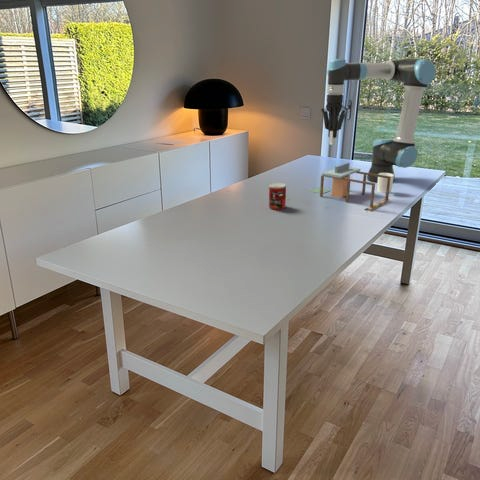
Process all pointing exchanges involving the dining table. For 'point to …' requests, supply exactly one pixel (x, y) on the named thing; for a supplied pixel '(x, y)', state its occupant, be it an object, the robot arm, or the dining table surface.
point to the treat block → (339, 187)
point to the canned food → (277, 196)
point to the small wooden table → (362, 188)
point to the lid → (341, 171)
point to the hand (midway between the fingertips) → (331, 144)
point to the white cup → (384, 182)
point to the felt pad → (317, 190)
